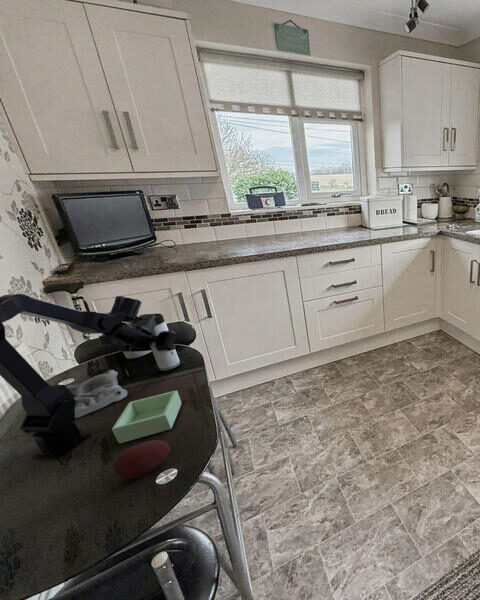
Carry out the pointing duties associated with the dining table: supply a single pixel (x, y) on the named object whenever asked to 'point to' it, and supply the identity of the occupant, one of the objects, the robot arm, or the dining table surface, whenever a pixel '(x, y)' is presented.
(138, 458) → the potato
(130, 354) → the cup
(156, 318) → the travel mug
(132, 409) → the holder
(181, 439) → the dining table surface
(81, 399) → the wall plaque
